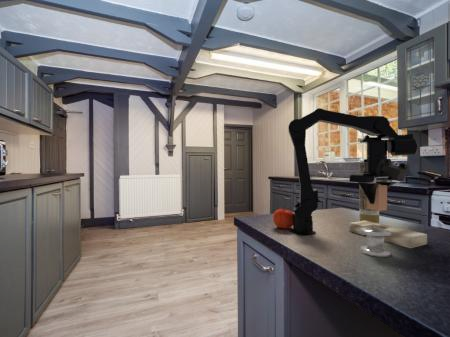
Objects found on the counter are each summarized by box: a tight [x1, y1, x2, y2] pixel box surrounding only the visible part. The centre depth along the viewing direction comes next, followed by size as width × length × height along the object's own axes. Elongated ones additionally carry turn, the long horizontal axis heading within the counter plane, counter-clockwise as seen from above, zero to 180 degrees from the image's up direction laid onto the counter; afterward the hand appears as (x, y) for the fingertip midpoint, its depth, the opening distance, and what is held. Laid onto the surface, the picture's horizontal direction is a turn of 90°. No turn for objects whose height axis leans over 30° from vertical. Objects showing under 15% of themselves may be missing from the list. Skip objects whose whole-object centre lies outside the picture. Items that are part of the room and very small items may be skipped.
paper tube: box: [358, 160, 380, 224], centre depth 98 cm, size 7×7×25 cm
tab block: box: [367, 185, 388, 212], centre depth 81 cm, size 4×4×8 cm
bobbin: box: [360, 227, 392, 258], centre depth 67 cm, size 7×7×6 cm
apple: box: [272, 206, 294, 230], centre depth 94 cm, size 8×8×8 cm
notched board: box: [348, 220, 428, 249], centre depth 81 cm, size 20×8×3 cm, turn 24°
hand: (376, 203), depth 81 cm, fingers closed on tab block, 4 cm apart
